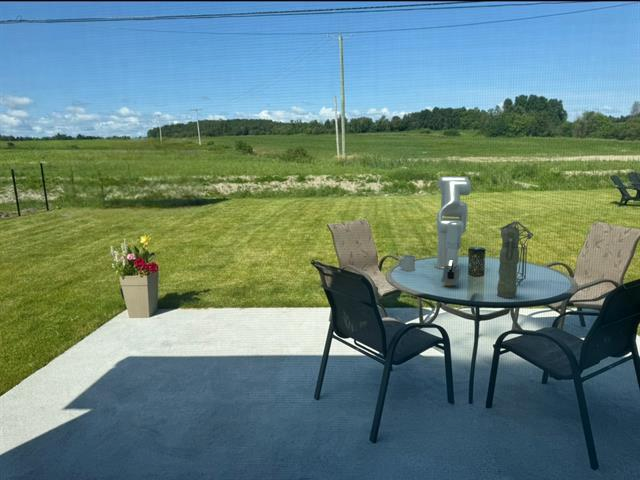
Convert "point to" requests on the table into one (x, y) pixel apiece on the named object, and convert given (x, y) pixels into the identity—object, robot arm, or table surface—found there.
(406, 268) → the cup
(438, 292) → the table surface
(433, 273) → the table surface
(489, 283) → the table surface
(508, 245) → the tall grey column
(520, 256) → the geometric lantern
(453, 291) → the table surface
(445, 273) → the trap cup
